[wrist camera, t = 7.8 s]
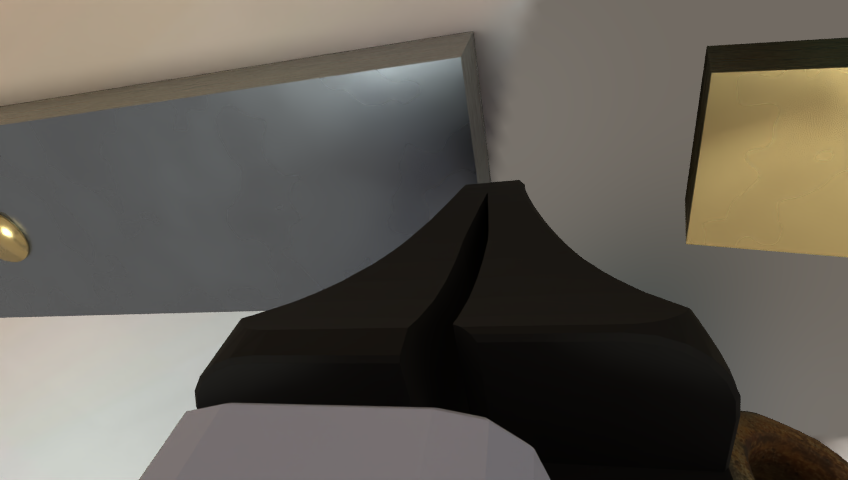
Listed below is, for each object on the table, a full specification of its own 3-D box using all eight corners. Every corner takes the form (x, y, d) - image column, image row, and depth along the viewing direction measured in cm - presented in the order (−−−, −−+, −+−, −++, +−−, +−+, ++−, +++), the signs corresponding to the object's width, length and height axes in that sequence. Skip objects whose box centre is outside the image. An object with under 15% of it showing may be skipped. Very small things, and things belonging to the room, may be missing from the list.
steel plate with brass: (498, 248, 17) (493, 306, 14) (39, 272, 22) (-26, 319, 19) (473, 31, 13) (460, 57, 11) (-70, 117, 18) (-168, 150, 16)
